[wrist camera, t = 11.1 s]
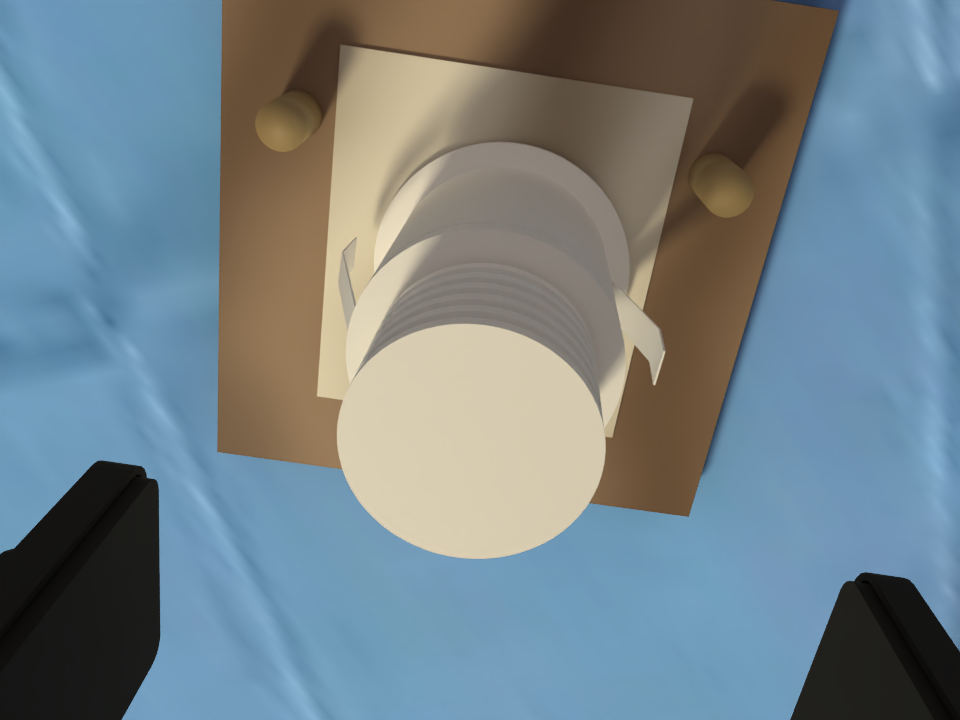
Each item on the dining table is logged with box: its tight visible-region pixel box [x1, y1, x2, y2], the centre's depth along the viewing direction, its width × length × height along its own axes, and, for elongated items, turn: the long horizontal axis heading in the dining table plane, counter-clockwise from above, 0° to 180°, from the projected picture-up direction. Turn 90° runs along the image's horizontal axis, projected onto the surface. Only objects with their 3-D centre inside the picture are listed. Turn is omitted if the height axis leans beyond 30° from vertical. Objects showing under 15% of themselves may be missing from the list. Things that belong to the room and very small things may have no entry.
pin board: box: [217, 0, 839, 517], centre depth 23 cm, size 15×15×3 cm
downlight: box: [337, 142, 665, 559], centre depth 19 cm, size 8×7×10 cm
